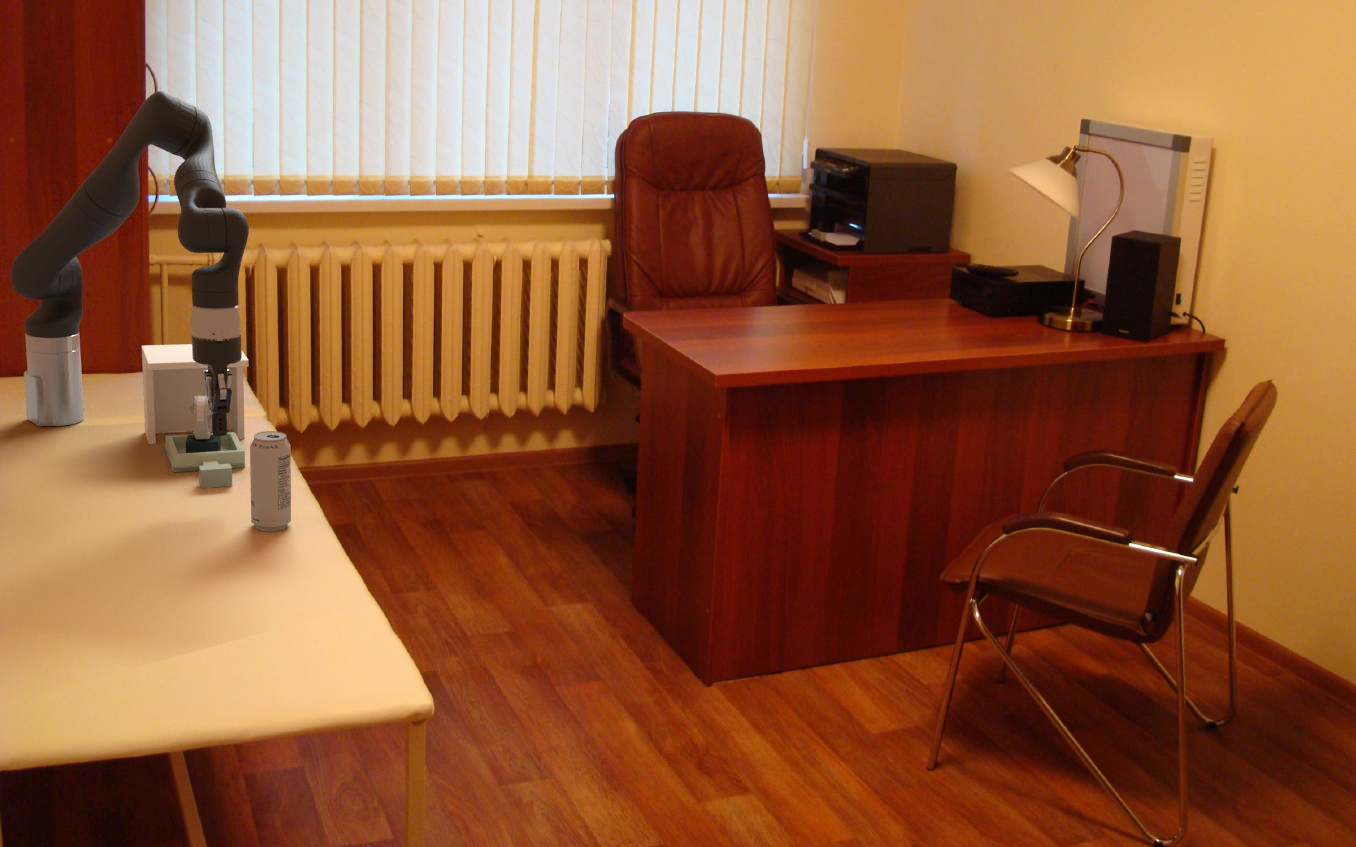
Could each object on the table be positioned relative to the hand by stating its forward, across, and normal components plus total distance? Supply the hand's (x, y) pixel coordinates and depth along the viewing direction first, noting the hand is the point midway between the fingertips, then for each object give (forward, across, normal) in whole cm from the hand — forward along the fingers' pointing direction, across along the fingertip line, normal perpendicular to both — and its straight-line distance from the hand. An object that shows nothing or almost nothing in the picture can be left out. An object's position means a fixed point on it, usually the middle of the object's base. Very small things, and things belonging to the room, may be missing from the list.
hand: (219, 434), depth 210 cm
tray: (+10, -15, 0) cm, 18 cm away
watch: (+10, -20, 0) cm, 22 cm away
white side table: (+10, -32, 0) cm, 33 cm away
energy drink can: (+11, +16, +5) cm, 20 cm away
